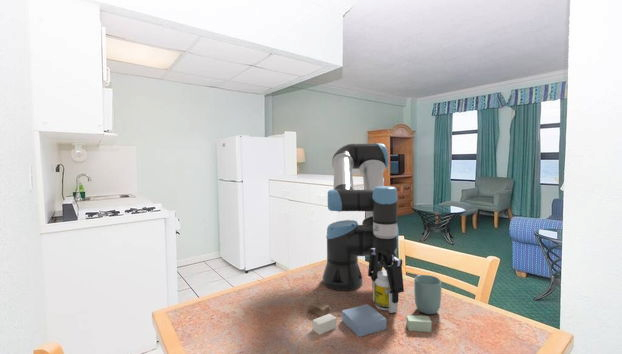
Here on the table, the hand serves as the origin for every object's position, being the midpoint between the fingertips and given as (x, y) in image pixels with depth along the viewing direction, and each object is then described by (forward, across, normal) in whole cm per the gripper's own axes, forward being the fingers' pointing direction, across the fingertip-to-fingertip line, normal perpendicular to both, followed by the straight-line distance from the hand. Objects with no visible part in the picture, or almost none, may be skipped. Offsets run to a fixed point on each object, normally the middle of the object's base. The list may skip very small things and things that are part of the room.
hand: (384, 305), depth 96 cm
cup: (0, +8, +10) cm, 13 cm away
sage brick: (+1, +14, +1) cm, 14 cm away
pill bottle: (0, 0, 0) cm, 0 cm away
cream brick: (+1, +3, -23) cm, 23 cm away
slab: (0, +6, -12) cm, 13 cm away
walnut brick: (0, -5, -21) cm, 22 cm away
